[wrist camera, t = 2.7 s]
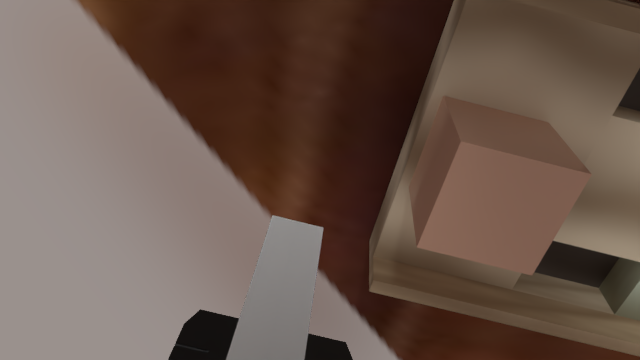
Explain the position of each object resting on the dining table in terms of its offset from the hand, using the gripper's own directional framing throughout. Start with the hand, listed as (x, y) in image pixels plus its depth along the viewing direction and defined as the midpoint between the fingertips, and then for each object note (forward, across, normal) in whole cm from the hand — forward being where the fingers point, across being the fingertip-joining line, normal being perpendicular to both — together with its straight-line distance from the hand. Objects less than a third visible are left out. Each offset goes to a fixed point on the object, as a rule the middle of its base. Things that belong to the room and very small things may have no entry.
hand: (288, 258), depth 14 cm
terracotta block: (+10, +8, 0) cm, 13 cm away
